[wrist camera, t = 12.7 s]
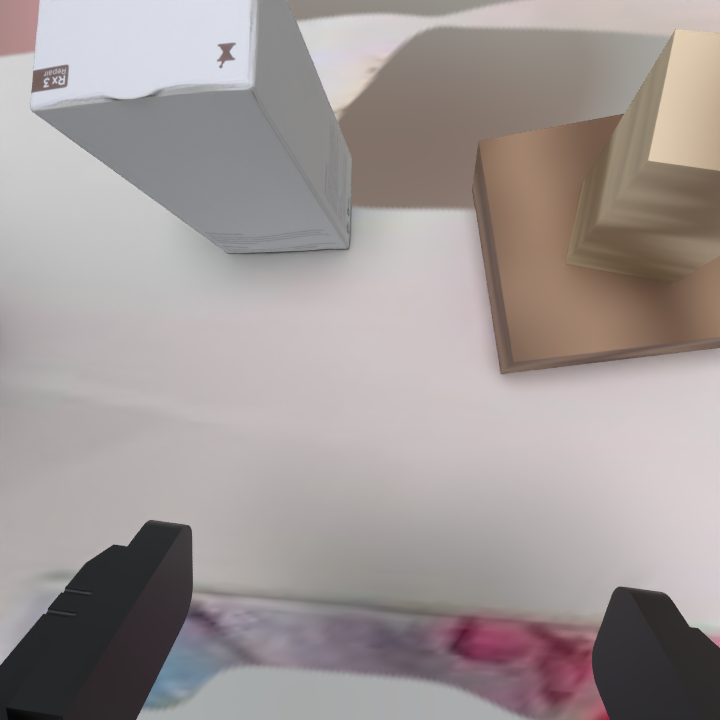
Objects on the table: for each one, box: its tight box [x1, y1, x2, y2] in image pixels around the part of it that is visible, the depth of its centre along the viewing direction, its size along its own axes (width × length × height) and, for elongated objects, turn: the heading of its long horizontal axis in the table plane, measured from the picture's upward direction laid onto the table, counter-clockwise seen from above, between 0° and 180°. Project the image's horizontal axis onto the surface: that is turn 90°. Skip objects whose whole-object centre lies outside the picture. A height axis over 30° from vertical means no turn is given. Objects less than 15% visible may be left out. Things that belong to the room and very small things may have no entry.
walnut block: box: [472, 114, 720, 374], centre depth 25 cm, size 11×11×5 cm
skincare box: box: [30, 0, 352, 253], centre depth 23 cm, size 8×6×15 cm
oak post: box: [565, 29, 720, 283], centre depth 18 cm, size 5×4×9 cm
